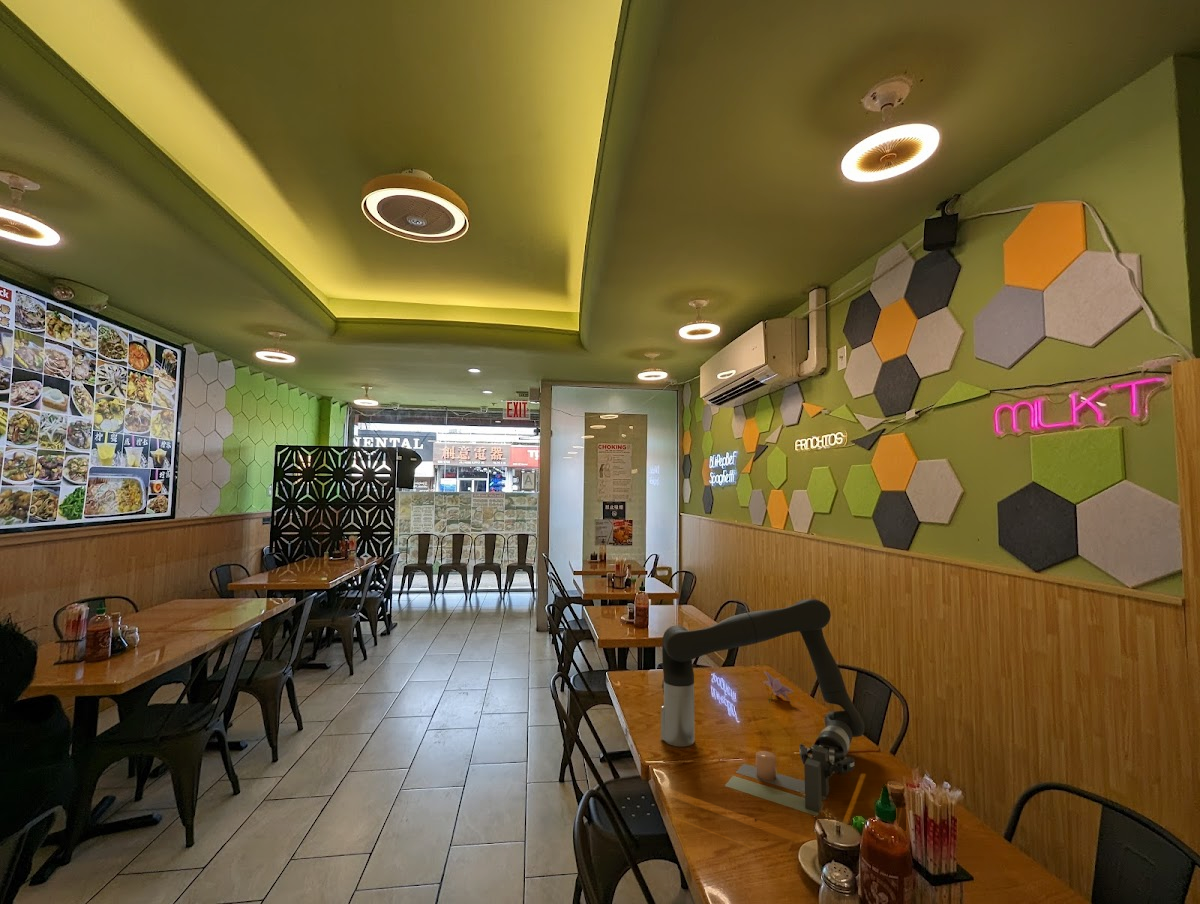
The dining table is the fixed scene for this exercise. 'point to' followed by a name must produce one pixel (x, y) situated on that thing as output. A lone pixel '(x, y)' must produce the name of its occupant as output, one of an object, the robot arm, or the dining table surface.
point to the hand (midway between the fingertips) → (817, 771)
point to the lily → (777, 686)
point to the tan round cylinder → (766, 765)
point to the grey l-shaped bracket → (792, 783)
